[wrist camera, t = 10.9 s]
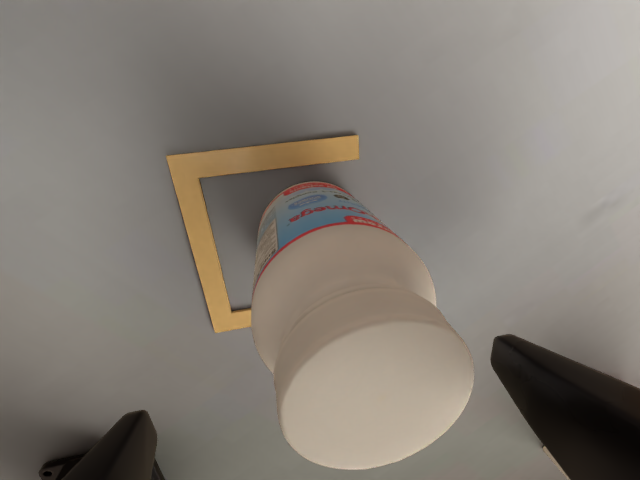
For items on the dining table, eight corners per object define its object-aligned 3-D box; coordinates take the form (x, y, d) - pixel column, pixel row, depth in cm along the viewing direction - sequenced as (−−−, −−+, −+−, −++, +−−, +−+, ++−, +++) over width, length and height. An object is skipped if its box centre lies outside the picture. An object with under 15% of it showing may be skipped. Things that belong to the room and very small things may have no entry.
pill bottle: (378, 198, 17) (556, 316, 7) (340, 289, 19) (435, 494, 8) (274, 163, 15) (297, 249, 5) (243, 267, 17) (214, 489, 7)
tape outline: (364, 304, 19) (365, 305, 19) (215, 331, 18) (215, 333, 18) (357, 134, 16) (358, 135, 15) (166, 155, 14) (165, 156, 14)
